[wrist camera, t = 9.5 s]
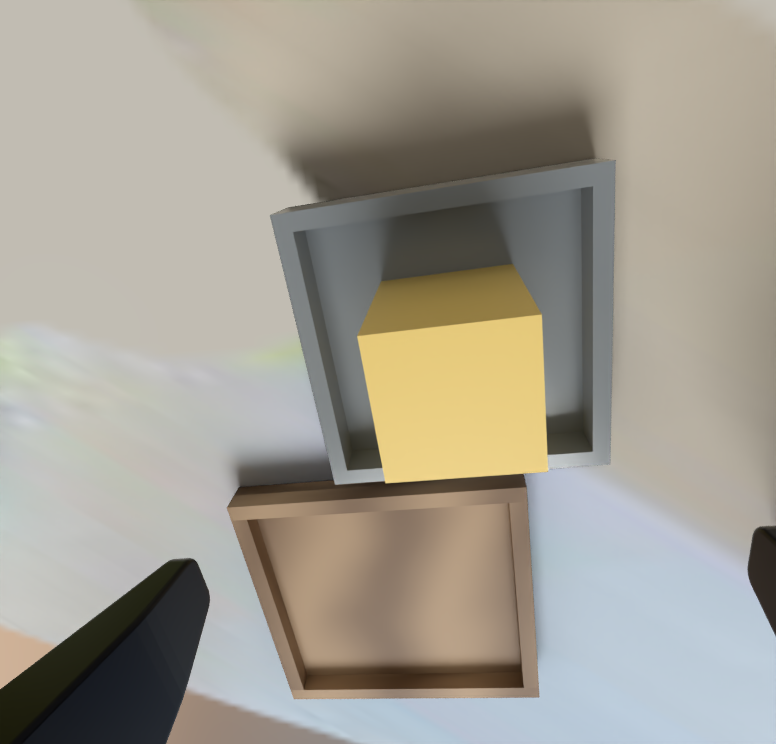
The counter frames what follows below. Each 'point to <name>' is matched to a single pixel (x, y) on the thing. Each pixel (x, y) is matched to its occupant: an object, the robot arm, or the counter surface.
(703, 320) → the counter surface
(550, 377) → the dish
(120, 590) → the counter surface
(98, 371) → the counter surface
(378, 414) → the block
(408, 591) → the tray
